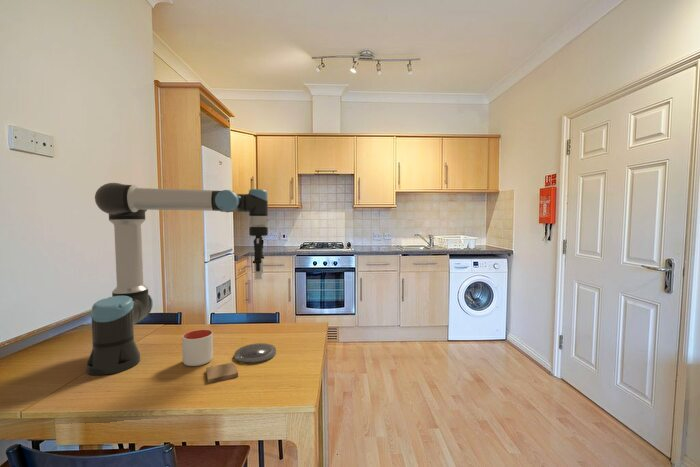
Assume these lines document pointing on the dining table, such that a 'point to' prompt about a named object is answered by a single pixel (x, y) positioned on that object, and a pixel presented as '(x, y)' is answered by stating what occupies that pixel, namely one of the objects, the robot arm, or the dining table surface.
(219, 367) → the oak coaster
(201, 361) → the cup
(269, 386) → the dining table surface
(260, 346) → the grey plate
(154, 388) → the dining table surface
